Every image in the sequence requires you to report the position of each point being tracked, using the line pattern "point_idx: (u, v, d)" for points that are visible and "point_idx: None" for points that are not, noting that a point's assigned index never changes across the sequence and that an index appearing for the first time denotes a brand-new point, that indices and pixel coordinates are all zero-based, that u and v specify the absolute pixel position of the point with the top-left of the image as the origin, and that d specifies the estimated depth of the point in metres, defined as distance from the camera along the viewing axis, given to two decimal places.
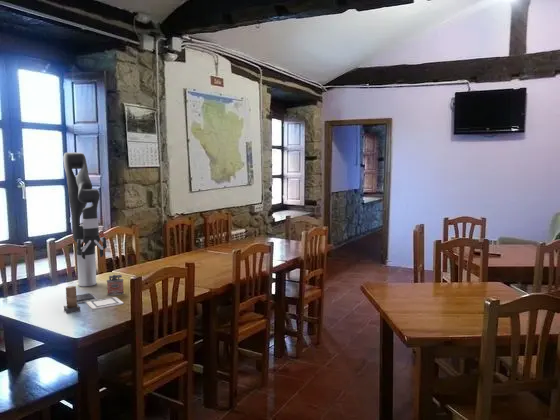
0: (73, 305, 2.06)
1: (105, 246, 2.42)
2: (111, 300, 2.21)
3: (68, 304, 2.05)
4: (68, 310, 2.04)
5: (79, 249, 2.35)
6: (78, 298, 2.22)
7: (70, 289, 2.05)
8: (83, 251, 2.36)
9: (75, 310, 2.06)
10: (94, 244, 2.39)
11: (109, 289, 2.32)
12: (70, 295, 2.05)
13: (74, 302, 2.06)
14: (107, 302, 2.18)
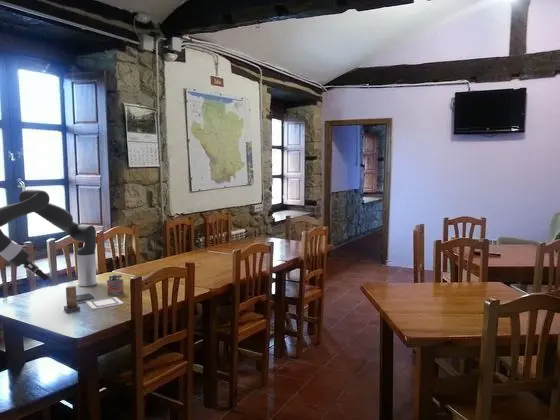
0: (73, 305, 2.06)
1: None
2: (111, 300, 2.21)
3: (68, 304, 2.05)
4: (68, 310, 2.04)
5: None
6: (78, 298, 2.22)
7: (70, 289, 2.05)
8: None
9: (75, 310, 2.06)
10: None
11: (109, 289, 2.32)
12: (70, 295, 2.05)
13: (74, 302, 2.06)
14: (107, 302, 2.18)
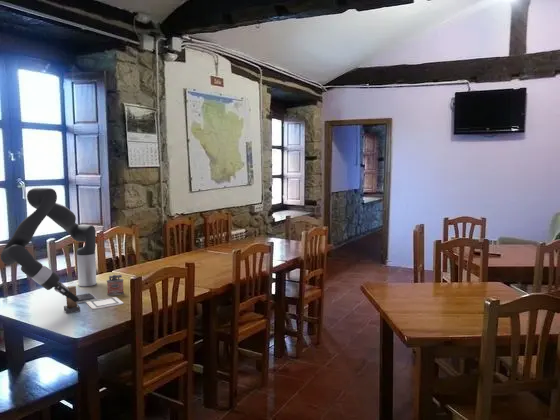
0: (73, 305, 2.06)
1: (67, 297, 2.02)
2: (111, 300, 2.21)
3: (68, 304, 2.05)
4: (68, 310, 2.04)
5: None
6: None
7: (70, 289, 2.05)
8: None
9: (75, 310, 2.06)
10: None
11: (109, 289, 2.32)
12: None
13: (74, 302, 2.06)
14: (107, 302, 2.18)
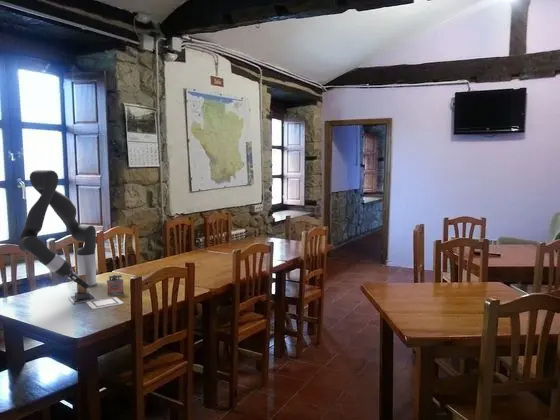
0: (83, 291, 2.22)
1: (78, 283, 2.18)
2: (111, 300, 2.21)
3: (79, 290, 2.22)
4: (79, 296, 2.21)
5: None
6: None
7: (80, 276, 2.21)
8: None
9: (85, 296, 2.22)
10: None
11: (109, 289, 2.32)
12: None
13: (84, 289, 2.23)
14: (107, 302, 2.18)
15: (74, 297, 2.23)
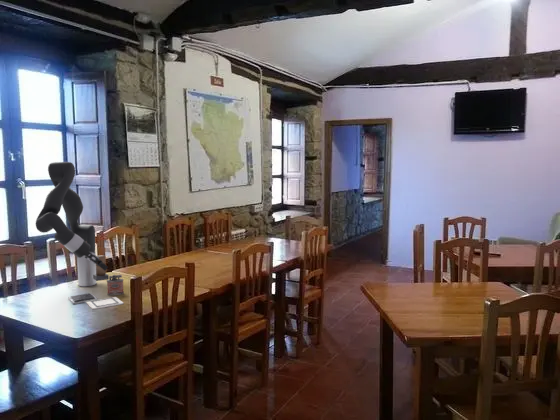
0: (102, 273, 2.15)
1: (97, 264, 2.11)
2: (111, 300, 2.21)
3: (97, 272, 2.14)
4: (97, 278, 2.13)
5: None
6: (78, 298, 2.22)
7: (100, 257, 2.14)
8: None
9: (104, 278, 2.15)
10: None
11: (109, 289, 2.32)
12: None
13: (103, 270, 2.15)
14: (107, 302, 2.18)
15: (74, 297, 2.23)
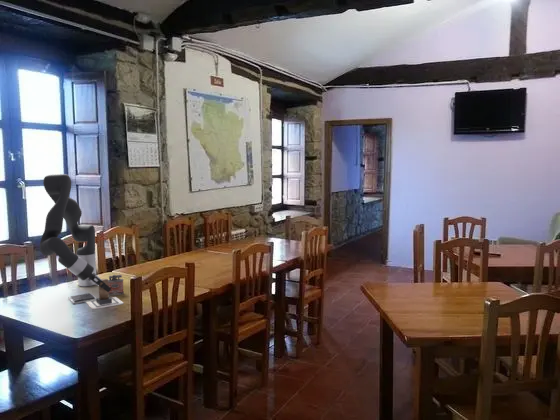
0: (105, 297, 2.16)
1: (100, 286, 2.10)
2: None
3: (101, 296, 2.16)
4: (101, 301, 2.14)
5: None
6: (78, 298, 2.22)
7: (103, 281, 2.15)
8: None
9: (107, 302, 2.16)
10: None
11: None
12: None
13: (106, 294, 2.16)
14: None
15: (74, 297, 2.23)
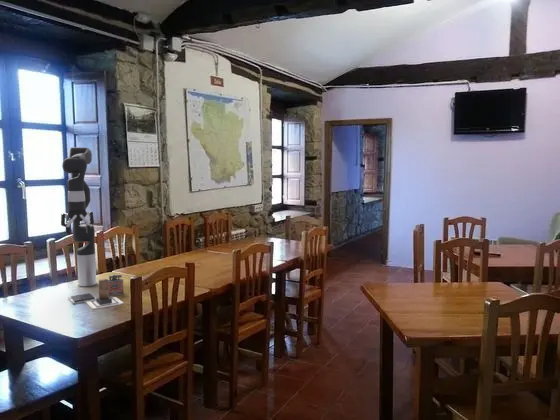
0: (105, 297, 2.16)
1: (92, 222, 2.21)
2: None
3: (101, 296, 2.16)
4: (101, 301, 2.14)
5: (63, 224, 2.13)
6: (78, 298, 2.22)
7: (103, 281, 2.15)
8: (67, 226, 2.15)
9: (107, 302, 2.16)
10: (80, 219, 2.18)
11: (109, 289, 2.32)
12: (102, 287, 2.15)
13: (106, 294, 2.16)
14: None
15: (74, 297, 2.23)
